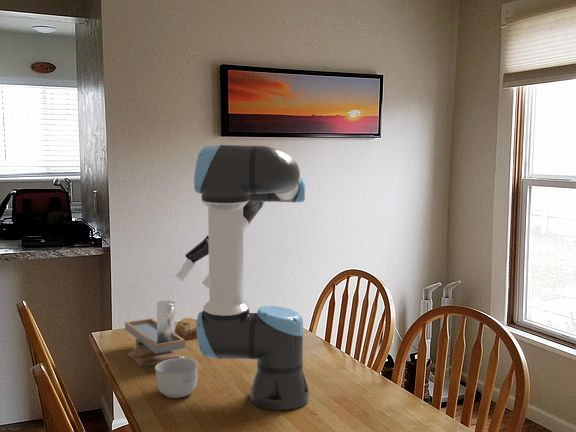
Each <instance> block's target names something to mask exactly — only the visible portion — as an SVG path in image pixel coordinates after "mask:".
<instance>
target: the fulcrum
mask: <svg viewBox="0 0 576 432" xmlns="http://www.w3.org/2000/svg"><path fill="white" fill-rule="evenodd" d="M135 344H136V345H135V346H136V347H135V348H136V349H135V350H133V351H132V350H131V351H128V352H127V354H128V355H127V356H129V357H130V358H131V359H132V360H133V361H134V362H135V363H137V365H139V366H141V368H144V367H149V366H156V365H157V364H158V363H160V362H162V361H165V360H169V359H174V358H179V357H180V356H181V355H179V354H178V353H177V352H175V351H174V350H172V351H166V352H161V353H155V352H153V351H152V350H151V349H149V348H148V347H147V346H146V345H144V344H143V343H142V342H141V343H136V342H135Z"/></svg>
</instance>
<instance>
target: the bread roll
mask: <svg viewBox="0 0 576 432" xmlns="http://www.w3.org/2000/svg"><path fill="white" fill-rule="evenodd" d="M175 334H177V335H178V336H180V337H181V338H183V339H184V340H185V341H190V340H198V339H197V319H196V318H193V317H185V318H182V319H181V320H179V321H178V322H177V323H176V325H175Z"/></svg>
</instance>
